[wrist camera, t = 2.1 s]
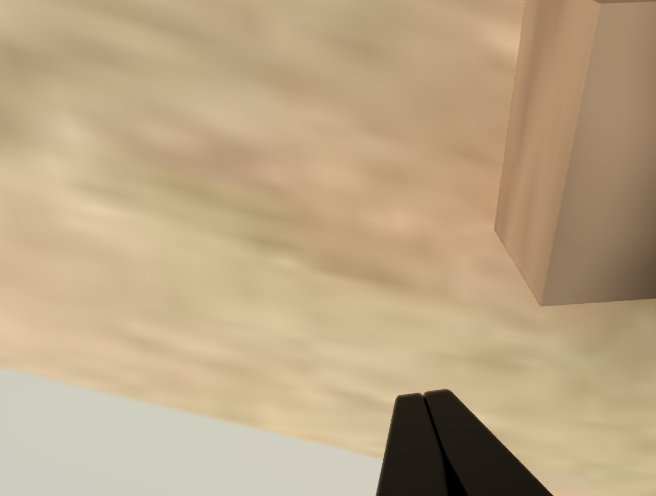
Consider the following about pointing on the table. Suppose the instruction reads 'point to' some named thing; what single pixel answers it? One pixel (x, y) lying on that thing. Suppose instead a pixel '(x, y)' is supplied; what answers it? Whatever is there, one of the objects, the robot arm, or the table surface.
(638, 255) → the walnut block
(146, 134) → the table surface
